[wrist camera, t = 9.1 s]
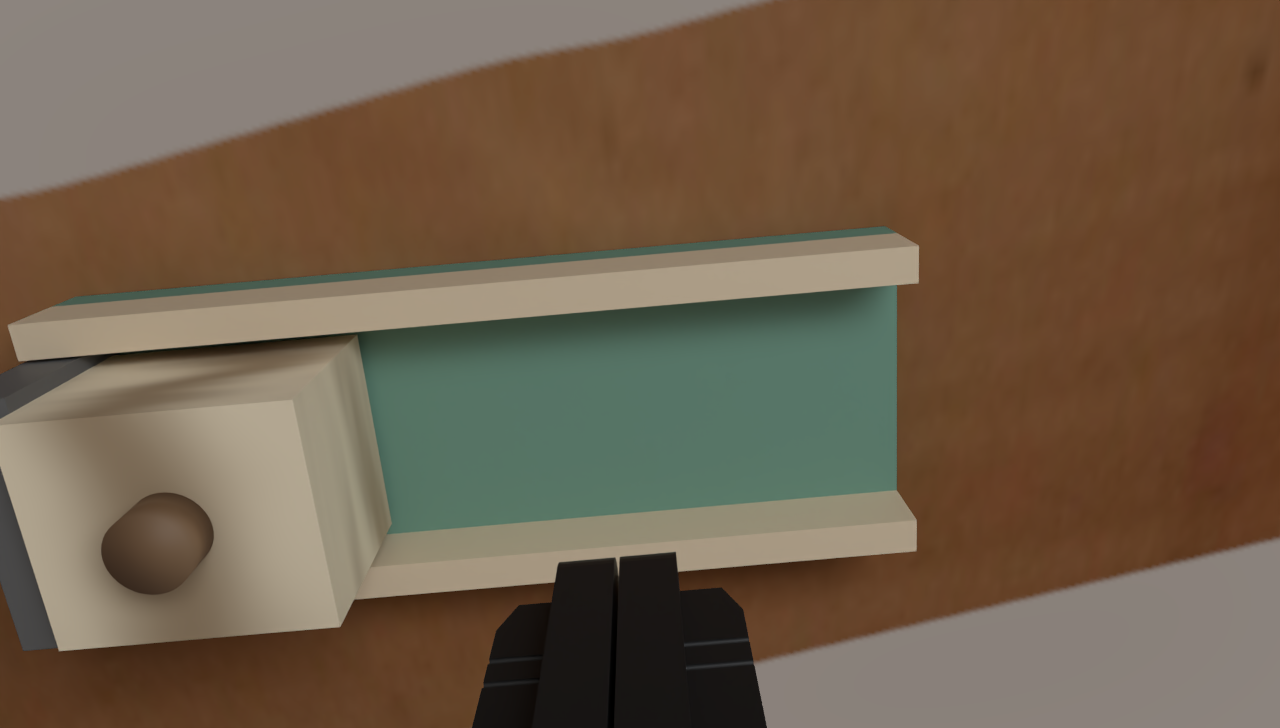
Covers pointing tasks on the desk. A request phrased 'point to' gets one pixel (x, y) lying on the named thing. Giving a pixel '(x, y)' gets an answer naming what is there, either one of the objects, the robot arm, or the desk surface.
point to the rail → (567, 402)
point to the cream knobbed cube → (199, 492)
